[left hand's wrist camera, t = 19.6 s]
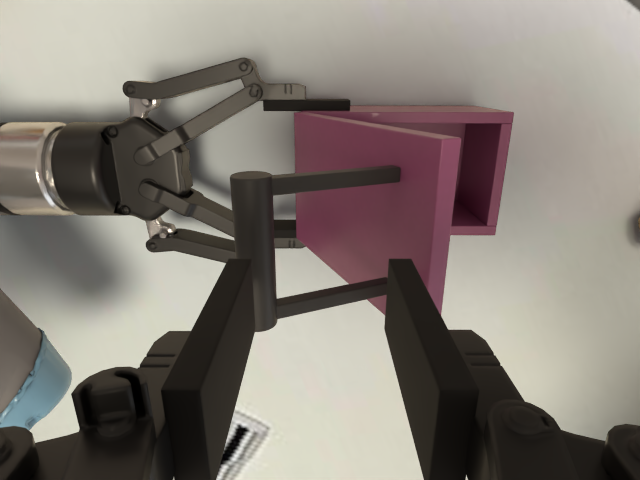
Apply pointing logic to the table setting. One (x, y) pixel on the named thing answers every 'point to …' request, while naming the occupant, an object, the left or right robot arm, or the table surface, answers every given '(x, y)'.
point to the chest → (474, 159)
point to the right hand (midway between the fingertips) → (347, 169)
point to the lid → (351, 211)
